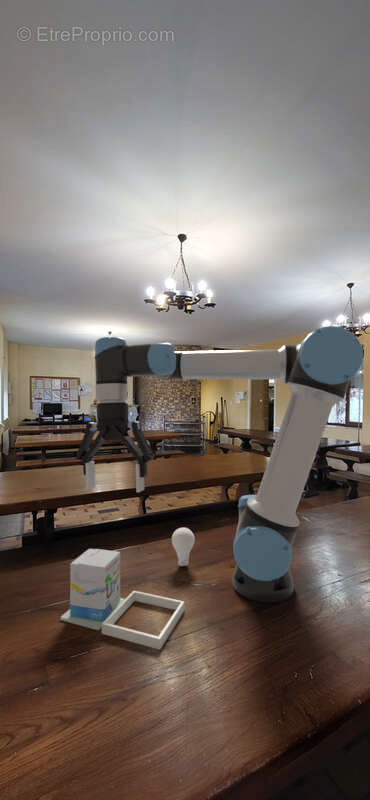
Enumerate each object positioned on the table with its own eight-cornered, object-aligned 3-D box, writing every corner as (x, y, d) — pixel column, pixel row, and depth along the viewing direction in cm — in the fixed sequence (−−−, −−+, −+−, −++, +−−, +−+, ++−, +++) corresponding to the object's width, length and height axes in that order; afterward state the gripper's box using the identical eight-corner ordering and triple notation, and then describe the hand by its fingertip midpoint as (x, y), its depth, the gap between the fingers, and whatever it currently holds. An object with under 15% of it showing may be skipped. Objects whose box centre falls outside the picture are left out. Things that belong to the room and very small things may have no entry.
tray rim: (184, 610, 77) (184, 601, 77) (160, 649, 65) (159, 639, 65) (133, 598, 82) (133, 590, 82) (101, 633, 70) (101, 623, 70)
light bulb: (168, 569, 96) (167, 530, 97) (177, 559, 103) (177, 523, 103) (189, 573, 94) (189, 533, 94) (198, 563, 100) (197, 525, 100)
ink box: (104, 622, 72) (103, 567, 72) (68, 616, 74) (68, 563, 75) (121, 599, 81) (121, 550, 81) (89, 595, 83) (89, 547, 83)
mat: (126, 601, 81) (126, 599, 81) (98, 630, 71) (98, 627, 71) (91, 593, 85) (91, 591, 85) (60, 619, 74) (60, 617, 74)
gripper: (165, 400, 82) (168, 488, 82) (78, 403, 90) (80, 483, 90) (153, 400, 75) (156, 496, 75) (59, 403, 83) (61, 490, 83)
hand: (115, 489), depth 82 cm, fingers open, 13 cm apart
